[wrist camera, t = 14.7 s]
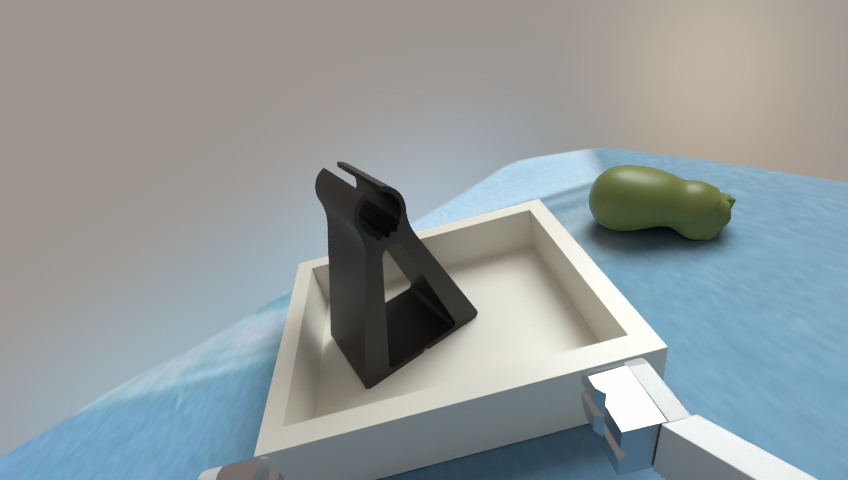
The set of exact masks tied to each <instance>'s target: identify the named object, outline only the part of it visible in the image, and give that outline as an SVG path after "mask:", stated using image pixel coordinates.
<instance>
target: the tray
mask: <svg viewBox="0 0 848 480" xmlns="http://www.w3.org/2000/svg"><path fill="white" fill-rule="evenodd" d="M415 234H416V235H417V236H418V238H419V239H420V240H421V241H422V243H423V244H424V245H425V246H426V248H427V249H428V250H429V251H430V253H431V254H432V255H433V256H434V258H435V259H436V260H437V261H438V263H439V264H440V265H441V266H442V267H443V269H444V270H445V271H446V272H447V274H448V275H449V276H450V277H451V279H452V280H453V281H454V282H455V284H456V285H457V286H458V287H459V289H460V290H461V291H462V292H463V294H464V295H465V296H466V297H467V298H468V300H469V301H470V302H471V303H472V305H473V306H474V307H475V308H476V310H477V311H478V314H477V316H476V317H475V318H474V319H472V320H471V321H470V322H468V323H467V324H465V325H464V326H462V327H461V328H459V329H458V330H456V331H455V332H453V333H452V334H450V335H449V336H447V337H446V338H445V339H443V340H442V341H440V342H439V343H437V344H436V345H434V346H433V347H431V348H430V349H425V350H424V353H422V354H421V355H419V356H418V357H417V358H415V359H414V360H412V361H411V362H409V363H408V364H406V365H405V366H403V367H402V368H400V369H399V370H397V371H396V372H394V373H393V374H391V375H390V376H389V377H387V378H386V379H384V380H383V381H381V382H380V383H378V384H377V385H375V386H374V387H372V388H371V389H366V388H365V386H364V385H363V383H362V382H361V380H360V379H359V377H358V376H357V374H356V373H355V371H354V370H353V368H352V366H351V365H350V363H349V362H348V360H347V359H346V357H345V356H344V354H343V353H342V351H341V350H340V348H339V347H338V345H337V343H336V342H335V340H334V339H333V337H332V336H331V325H330V290H329V256H326V257H322V258H319V259H315V260H312V261H307V262H304V263H300V264H299V267H298V271H297V275H296V280H295V284H294V288H293V292H292V296H291V301H290V305H289V309H288V313H287V318H286V322H285V326H284V330H283V335H282V339H281V343H280V347H279V352H278V356H277V360H276V364H275V369H274V373H273V377H272V381H271V386H270V390H269V394H268V398H267V402H266V407H265V411H264V415H263V419H262V424H261V428H260V432H259V436H258V441H257V445H256V449H255V453H254V458H257V457H261V456H265V455H266V456H267V458H268V459H269V460H270V461H271V462H272V463H271V468H270V469H273V470H276V471H279V472H280V473H281V475H282V476H283V478H284V480H376V479H380V478H384V477H388V476H392V475H395V474H399V473H403V472H407V471H410V470H414V469H418V468H422V467H426V466H429V465H433V464H437V463H441V462H445V461H448V460H452V459H456V458H460V457H463V456H467V455H471V454H475V453H479V452H482V451H486V450H490V449H494V448H498V447H501V446H505V445H509V444H513V443H516V442H520V441H524V440H528V439H532V438H535V437H539V436H543V435H547V434H551V433H554V432H558V431H562V430H566V429H569V428H573V427H577V426H581V425H585V424H588V423H589V421H588V419H587V417H586V414H585V412H584V408H583V404H582V395H581V393H582V392H583V391H584V390H585V387H584V386H583V384H582V375H583V373H585V372H589V371H592V370H596V369H600V368H603V367H607V366H610V365H614V364H618V363H624V362H627V361H631V360H634V359H638V358H643V359H645V360H646V361H648V363H649V364H650V365H651V366H652V368H653V369H654V370H655V371H656V373H657V374H658V375H659V376H660V378H661V379H662V380H663V376H664V369H665V363H666V356H667V349H668V347H667V346H666V344H665V343H664V342H663V341H662V340H661V339H660V338H659V336H658V335H657V334H656V333H655V332H654V331H653V329H652V328H651V327H650V326H649V325H648V324H647V323H646V321H645V320H644V319H643V318H642V317H641V316H640V315H639V313H638V312H637V311H636V310H635V309H634V308H633V307H632V305H631V304H630V303H629V302H628V301H627V300H626V299H625V297H624V296H623V295H622V294H621V293H620V292H619V290H618V289H617V288H616V287H615V286H614V285H613V284H612V282H611V281H610V280H609V279H608V278H607V277H606V276H605V274H604V273H603V272H602V271H601V270H600V269H599V268H598V266H597V265H596V264H595V263H594V262H593V261H592V260H591V258H590V257H589V256H588V255H587V254H586V253H585V251H584V250H583V249H582V248H581V247H580V246H579V245H578V243H577V242H576V241H575V240H574V239H573V238H572V237H571V235H570V234H569V233H568V232H567V231H566V230H565V229H564V227H563V226H562V225H561V224H560V223H559V222H558V221H557V219H556V218H555V217H554V216H553V215H552V214H551V212H550V211H549V210H548V209H547V208H546V207H545V206H544V204H543V203H542V202H541V201H540V200H539V199H537V200H533V201H530V202H526V203H522V204H519V205H515V206H511V207H507V208H504V209H500V210H496V211H493V212H489V213H485V214H481V215H478V216H474V217H470V218H467V219H463V220H459V221H456V222H452V223H448V224H444V225H441V226H437V227H433V228H430V229H426V230H422V231H418V232H415ZM383 275H384V291H385V302H387V301H389V300H390V299H392V298H394V297H395V296H397V295H399V294H400V293H402V292H404V291H405V290H407V289H409V288H410V286H411V283H410V281H409V280H408V279H407V277H406V276H405V275H404V273H403V272H402V270H401V269H400V268H399V266H398V265H397V264H396V262H395V261H394V259H393V258H392V257H391V255H390V254H389V253H388V251H387V250H385V252H384V254H383Z"/></svg>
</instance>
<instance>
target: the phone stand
mask: <svg viewBox="0 0 848 480" xmlns="http://www.w3.org/2000/svg"><path fill="white" fill-rule="evenodd" d="M337 164H338V167H339V168H341V169H343V170H344V171H346V172H348V173H350V174H351V175H353V176H355V178H356V182H357V187H356V188H355V187H353V186H351V185H350V184H348V183H347V182H345V181H344V180H342V179H341V178H339V177H337V176H336V175H334V174H333V173H331V172H330V171H328V170H326V169H325V168H323V169H322V170H321V171H320V173H319V174H318V176H317V179H316V184H315V189H316V194H317V197H318V198H319V200H320V201H321V203H322V205H323V207H324V209H325V212H326V215H327V222H328V255H329V290H330V325H331V336H332V337H333V339H334V340H335V342H336V343H337V345H338V347H339V348H340V350H341V351H342V353H343V354H344V356H345V357H346V359H347V360H348V362H349V363H350V365H351V366H352V368H353V370H354V371H355V373H356V374H357V376H358V377H359V379H360V380H361V382H362V383H363V385H364V386H365V388H366V389H371V388H372V387H374V386H375V385H377V384H378V383H380V382H381V381H383V380H384V379H386V378H387V377H389V376H390V375H391V374H393V373H394V372H396V371H397V370H399V369H400V368H402V367H403V366H405V365H406V364H408V363H409V362H411V361H412V360H414V359H415V358H417V357H418V356H419V355H421V354H422V353H424V350H425V349H430V348H431V347H433V346H434V345H436V344H437V343H439V342H440V341H442V340H443V339H445V338H446V337H447V336H449V335H450V334H452V333H453V332H455V331H456V330H458V329H459V328H461V327H462V326H464V325H465V324H467V323H468V322H470V321H471V320H472V319H474V318H475V317H476V316H477V314H478V311H477V310H476V308H475V307H474V306H473V305H472V303H471V302H470V301H469V300H468V298H467V297H466V296H465V295H464V294H463V292H462V291H461V290H460V289H459V287H458V286H457V285H456V284H455V282H454V281H453V280H452V279H451V277H450V276H449V275H448V274H447V272H446V271H445V270H444V269H443V267H442V266H441V265H440V264H439V263H438V261H437V260H436V259H435V258H434V256H433V255H432V254H431V253H430V251H429V250H428V249H427V248H426V246H425V245H424V244H423V243H422V241H421V240H420V239H419V238H418V236H417V235H416V234H415V233H414V231H413V230H412V228H411V226H410V224H409V221H408V218H407V214H406V206H405V202H404V199H403V197H402V196H401V194H400V193H399V192H398V191H397V190H395V189H393V188H392V187H390V186H388V185H386V184H384V183H383V182H381V181H379V180H377V179H375V178H373V177H371V176H370V175H368V174H366V173H364V172H362V171H360V170H359V169H357V168H355V167H353V166H351V165H349V164H347V163H344V162H337ZM385 250H387V251H388V253H389V254H390V255H391V257H392V258H393V259H394V261H395V262H396V264H397V265H398V266H399V268H400V269H401V270H402V272H403V273H404V275H405V276H406V277H407V279H408V280H409V281H410V283H411V286H410V288H409V289H407V290H405V291H404V292H402V293H400V294H399V295H397V296H395V297H394V298H392V299H390V300H389V301H387V302H385V291H384V275H383V254H384V252H385Z"/></svg>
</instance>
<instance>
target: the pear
mask: <svg viewBox="0 0 848 480" xmlns="http://www.w3.org/2000/svg"><path fill="white" fill-rule="evenodd" d="M735 201H736V200H735V199H734V198H732V197H730V195H729V194H724V193H721V192H720V191H719V189H718V188H717V187H714V186H712V185H710V184H708V183H705V182H701V181H691V180H684V179H681V178H678V177H677V176H675V175H673V174H671V173H668V172H665V171H662V170H659V169H655V168H650V167H644V166H634V165H623V166H617V167H613V168H610V169H608V170H606V171H605V172H603V173H602V174H601V175H600V176H599V177H598V178H597V179H596V181H595V182H594V184H593V186H592V188H591V191H590V195H589V206H590V210H591V213H592V215H593V217H594V218H595V219H596V220H597V221H598V222H599V223H600V224H601V225H603V226H604V227H606V228H609V229H612V230H616V231H633V230H640V229H646V228H651V227H657V226H665V227H670V228H673V229H674V230H676V231H677V232H678V233H680V234H681V235H683V236H684V237H686V238H688V239H692V240H711V239H712V238H714V237H715V236H717V234H718V231H719V230H721V229H722V228H723V227H724V226H726V225H727V224H728V223H729V221H730V219H731V209H732V206H733V204H734V202H735Z"/></svg>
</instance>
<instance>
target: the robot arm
mask: <svg viewBox="0 0 848 480" xmlns="http://www.w3.org/2000/svg"><path fill="white" fill-rule="evenodd" d="M582 384H583V386H584V387H585V390H584V391H583V392H582V393H581V395H582V404H583V408H584V412H585V414H586V417H587V419H588V421H589V423H590V425H591V427H592V429H593V431H595V432H596V433H598V434H599V435H601V436H602V437H603V449H604V451H605V453H606V455H607V457H608V459H609V460H610V462H611V464H612V466H613V468H614V470H615V471H616V473H617V475H621V474H625V473H629V472H634V471H638V470H643V469H647V468H651V467H653V470H654V471H656V472H657V473H658V474H660V475H661V476H662V477H663V478H665V479H666V480H818V479H816V478H814V477H812V476H810V475H808V474H806V473H805V472H803V471H801V470H799V469H797V468H795V467H793V466H792V465H790V464H788V463H786V462H784V461H782V460H780V459H779V458H777V457H775V456H773V455H771V454H769V453H768V452H766V451H764V450H762V449H760V448H758V447H756V446H755V445H753V444H751V443H749V442H747V441H745V440H743V439H742V438H740V437H738V436H736V435H734V434H732V433H731V432H729V431H727V430H725V429H723V428H721V427H719V426H718V425H716V424H714V423H712V422H710V421H708V420H706V419H705V418H703V417H701V416H699V415H692V416H691V415H690V414H689V413H688V412H687V410H686V409H685V408H684V407H683V405H682V404H681V403H680V401H679V400H678V399H677V398H676V396H675V395H674V394H673V393H672V391H671V390H670V389H669V388H668V386H667V385H666V384H665V383H664V381H663V380H662V379H661V378H660V376H659V375H658V374H657V373H656V371H655V370H654V369H653V368H652V366H651V365H650V364H649V363H648V361H646V360H645V359H643V358H638V359H634V360H631V361H627V362H624V363H618V364H614V365H610V366H607V367H603V368H600V369H596V370H592V371H589V372H585V373H583V375H582ZM271 463H272V462H271V461H270V460H269V459H268V458H267V456H266V455H265V456H261V457H257V458H253V459H249V460H245V461H241V462H237V463H233V464H229V465H224V466H220V467H216V468H213V469H209V470H205V471H203V472H202V473H201V475H200V476H199V477H198V479H197V480H284V478H283V476H282V475H281V473H280V472H279V471H276V470H273V469H270V468H271Z"/></svg>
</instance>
